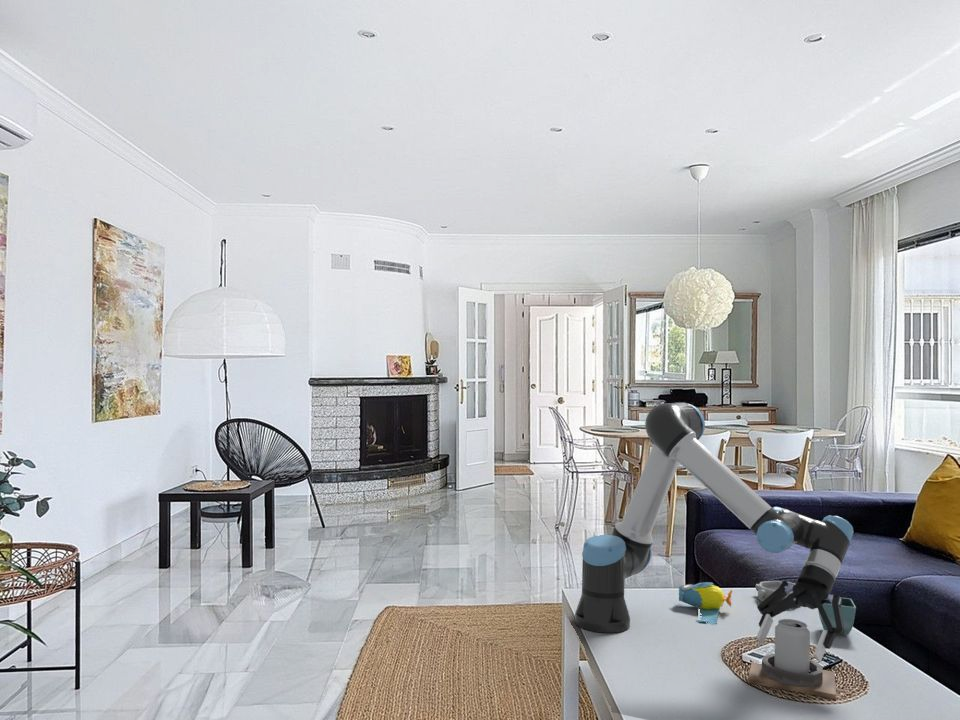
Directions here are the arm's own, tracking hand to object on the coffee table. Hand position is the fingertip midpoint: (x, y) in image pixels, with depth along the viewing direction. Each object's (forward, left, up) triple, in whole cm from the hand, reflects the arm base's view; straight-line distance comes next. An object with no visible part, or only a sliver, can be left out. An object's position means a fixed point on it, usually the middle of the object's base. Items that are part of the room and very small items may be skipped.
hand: (787, 649), depth 170 cm
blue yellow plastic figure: (-24, +46, -8) cm, 53 cm away
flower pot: (+11, +42, -8) cm, 44 cm away
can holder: (+1, +2, -7) cm, 8 cm away
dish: (-4, +66, -8) cm, 67 cm away
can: (+1, +2, -7) cm, 7 cm away
